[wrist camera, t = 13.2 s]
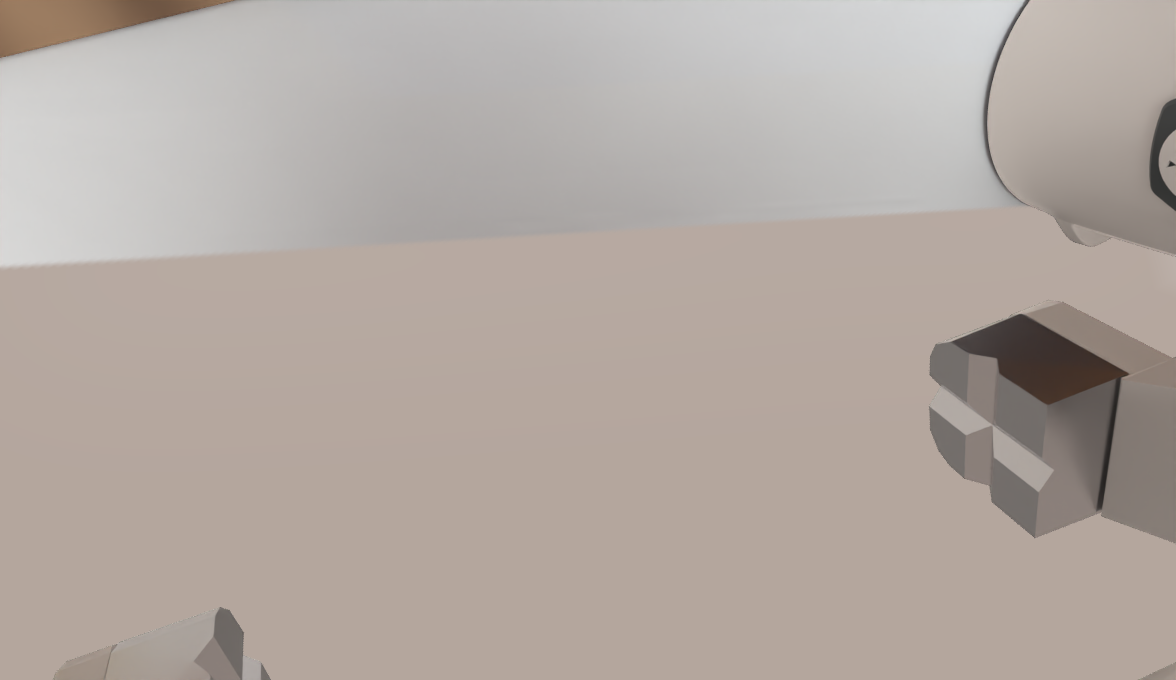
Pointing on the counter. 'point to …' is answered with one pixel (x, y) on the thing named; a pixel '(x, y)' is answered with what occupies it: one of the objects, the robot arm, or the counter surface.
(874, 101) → the counter surface
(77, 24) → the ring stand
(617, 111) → the counter surface
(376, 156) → the counter surface
